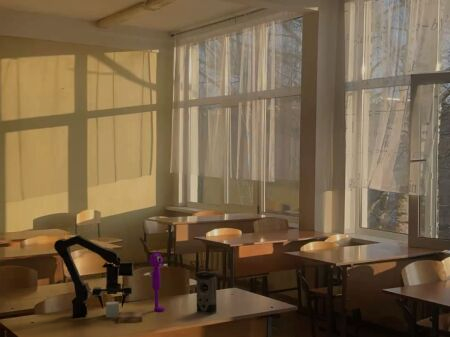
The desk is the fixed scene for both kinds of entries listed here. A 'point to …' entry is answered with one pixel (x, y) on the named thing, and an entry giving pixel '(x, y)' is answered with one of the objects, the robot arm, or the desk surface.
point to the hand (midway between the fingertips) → (112, 308)
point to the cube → (112, 309)
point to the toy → (156, 277)
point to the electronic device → (206, 292)
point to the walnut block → (130, 317)
